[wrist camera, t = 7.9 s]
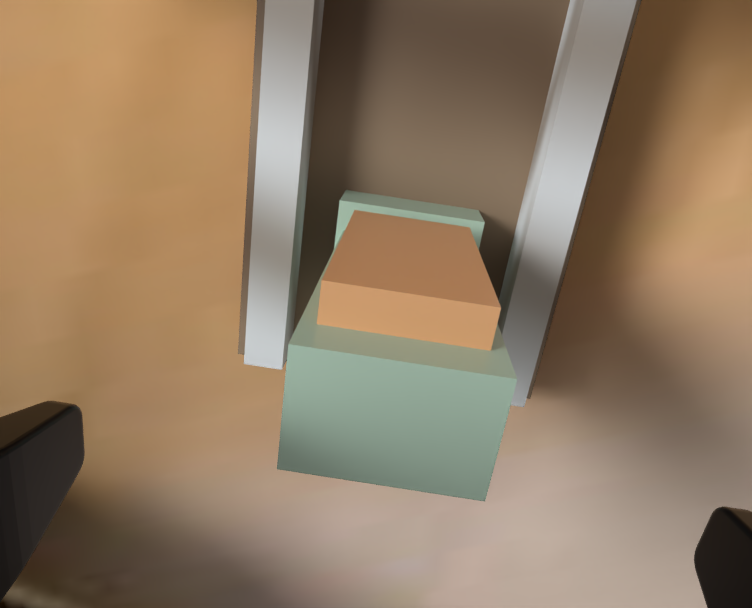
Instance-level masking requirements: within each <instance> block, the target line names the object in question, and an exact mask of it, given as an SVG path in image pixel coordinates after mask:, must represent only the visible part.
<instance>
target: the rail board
mask: <svg viewBox="0 0 752 608" xmlns="http://www.w3.org/2000/svg"><path fill="white" fill-rule="evenodd" d="M640 4H641V0H257V15H256V34H255V52H254V70H253V89H252V107H251V125H250V144H249V162H248V181H247V199H246V217H245V236H244V254H243V272H242V291H241V309H240V327H239V346H238V354H243V355H244V364H248V365H255V366H261V367H267V368H274V369H280V370H282V369H283V366H284V364H285V362H286V361H287V354H288V344H289V342H290V340H291V338H292V335H293V333H294V331H295V329H296V327H297V325H298V323H299V321H300V319H301V317H302V315H303V313H304V311H305V309H306V306H307V304H308V302H309V300H310V298H311V296H312V294H313V292H314V290H315V288H316V286H317V284H318V282H319V279H320V277H321V275H322V273H323V271H324V269H325V267H326V265H327V263H328V261H329V259H330V257H331V255H332V252H333V250H334V245H335V236H336V227H337V219H338V210H339V201H340V199H341V197H342V196H343V194H344V193H345V191H346V190H350V191H356V192H363V193H370V194H376V195H383V196H389V197H396V198H402V199H409V200H416V201H422V202H429V203H435V204H442V205H448V206H455V207H462V208H468V209H475V210H479V212H480V214H481V216H482V218H483V220H484V222H485V224H484V228H483V233H482V237H481V242H480V247H479V252H480V255H481V258H482V260H483V263H484V265H485V268H486V270H487V273H488V275H489V278H490V281H491V283H492V286H493V288H494V291H495V293H496V296H497V298H498V301H499V303H500V306H501V311H500V315H499V319H498V326H499V329H500V331H501V334H502V337H503V340H504V343H505V346H506V349H507V351H508V354H509V357H510V360H511V363H512V366H513V368H514V371H515V374H516V377H517V382H516V386H515V390H514V394H513V398H512V401H511V405H513V406H520V407H524V405H525V402H526V398H528V399H530V397H531V393H532V390H533V386H534V383H535V379H536V375H537V372H538V368H539V365H540V361H541V358H542V354H543V350H544V347H545V343H546V340H547V336H548V333H549V329H550V325H551V322H552V318H553V315H554V311H555V308H556V304H557V300H558V297H559V293H560V290H561V286H562V283H563V279H564V275H565V272H566V268H567V265H568V261H569V257H570V254H571V250H572V247H573V243H574V240H575V236H576V232H577V229H578V225H579V222H580V218H581V215H582V211H583V207H584V204H585V200H586V197H587V193H588V190H589V186H590V182H591V179H592V175H593V172H594V168H595V165H596V161H597V157H598V154H599V150H600V147H601V143H602V140H603V136H604V132H605V129H606V125H607V122H608V118H609V114H610V111H611V107H612V104H613V100H614V97H615V93H616V89H617V86H618V82H619V79H620V75H621V72H622V68H623V64H624V61H625V57H626V54H627V50H628V47H629V43H630V39H631V36H632V32H633V29H634V25H635V22H636V18H637V14H638V11H639V7H640Z"/></svg>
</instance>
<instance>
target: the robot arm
mask: <svg viewBox="0 0 752 608" xmlns="http://www.w3.org/2000/svg"><path fill="white" fill-rule="evenodd" d="M83 460H84V436H83V421H82V412H81V410H80V408H79V407H78V406H77V405H75V404H69V403H63V402H57V401H46V402H43V403H40V404H37V405H34V406H31V407H28V408H26V409H23V410H20V411H17V412H14V413H11V414H8V415H6V416H3V417H0V601H1V600H2V599H3V597H4V596H5V594H6V593H7V592H8V590H9V589H10V587H11V586H12V585H13V583H14V582H15V580H16V579H17V577H18V576H19V574H20V573H21V571H22V570H23V568H24V567H25V565H26V563H27V562H28V560H29V558H30V557H31V555H32V554H33V552H34V550H35V548H36V547H37V545H38V543H39V541H40V540H41V538H42V536H43V534H44V533H45V531H46V529H47V527H48V526H49V524H50V522H51V520H52V519H53V517H54V515H55V513H56V512H57V510H58V508H59V506H60V505H61V503H62V501H63V499H64V498H65V496H66V494H67V492H68V491H69V489H70V487H71V485H72V484H73V482H74V480H75V478H76V477H77V475H78V473H79V471H80V469H81V467H82V464H83ZM694 563H695V569H696V573H697V576H698V579H699V582H700V585H701V589H702V592H703V595H704V598H705V601H706V604H707V608H752V512H751V511H748V510H743V509H737V508H730V507H719V508H717V509H716V510H715V511H714V512H713V513H712V515H711V517H710V519H709V521H708V524H707V526H706V528H705V530H704V532H703V534H702V537H701V539H700V541H699V543H698V545H697V547H696V550H695V555H694Z"/></svg>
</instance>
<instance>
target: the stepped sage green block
mask: <svg viewBox="0 0 752 608" xmlns="http://www.w3.org/2000/svg"><path fill="white" fill-rule="evenodd" d="M484 224H485V222H484V220H483V218H482V216H481V214H480V212H479V210H475V209H468V208H462V207H455V206H448V205H442V204H435V203H429V202H422V201H416V200H409V199H402V198H396V197H389V196H383V195H376V194H370V193H363V192H356V191H350V190H346V191H345V193H344V194H343V196H342V197H341V199H340V201H339V210H338V219H337V227H336V236H335V245H334V250H333V252H332V255H331V257H330V259H329V261H328V263H327V265H326V267H325V269H324V271H323V273H322V275H321V277H320V279H319V282H318V284H317V286H316V288H315V290H314V292H313V294H312V296H311V298H310V300H309V302H308V304H307V306H306V309H305V311H304V313H303V315H302V317H301V319H300V321H299V323H298V325H297V327H296V329H295V331H294V333H293V335H292V338H291V340H290V342H289V344H288V354H287V365H286V376H285V387H284V398H283V409H282V420H281V431H280V442H279V453H278V464H277V469H280V470H286V471H293V472H299V473H305V474H312V475H318V476H325V477H331V478H338V479H344V480H350V481H357V482H363V483H370V484H376V485H383V486H389V487H395V488H402V489H408V490H415V491H421V492H428V493H434V494H440V495H447V496H453V497H460V498H466V499H473V500H479V501H485V499H486V495H487V492H488V488H489V484H490V480H491V477H492V473H493V469H494V465H495V461H496V458H497V454H498V450H499V446H500V443H501V439H502V435H503V431H504V428H505V424H506V420H507V416H508V413H509V409H510V405H511V401H512V398H513V394H514V390H515V386H516V382H517V377H516V374H515V371H514V368H513V366H512V363H511V360H510V357H509V354H508V351H507V349H506V346H505V343H504V340H503V337H502V334H501V331H500V329H499V326H498V319H499V315H500V311H501V306H500V303H499V301H498V298H497V296H496V293H495V291H494V288H493V286H492V283H491V281H490V278H489V275H488V273H487V270H486V268H485V265H484V263H483V260H482V258H481V255H480V252H479V247H480V242H481V237H482V233H483V228H484Z"/></svg>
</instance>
